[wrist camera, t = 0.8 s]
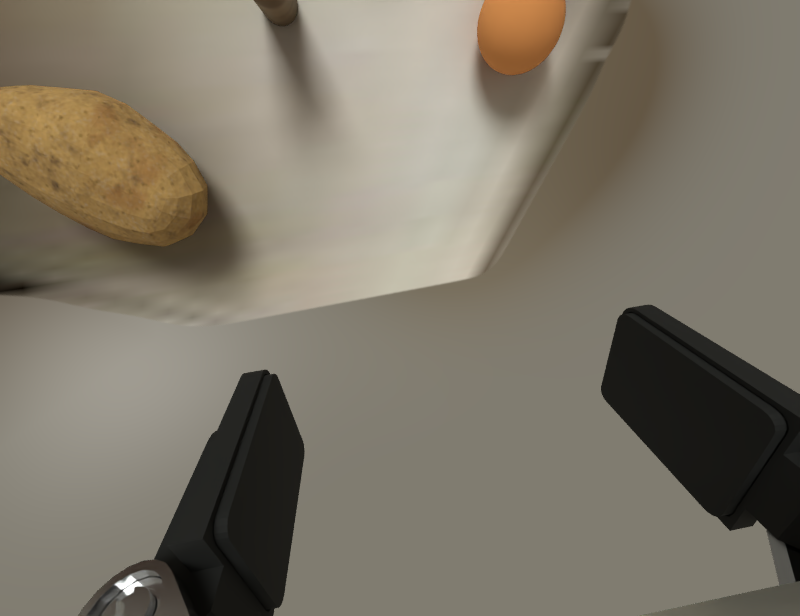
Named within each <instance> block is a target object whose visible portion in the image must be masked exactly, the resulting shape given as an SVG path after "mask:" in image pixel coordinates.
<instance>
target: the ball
mask: <svg viewBox="0 0 800 616" xmlns="http://www.w3.org/2000/svg"><path fill="white" fill-rule="evenodd" d="M565 13H566V4H565V0H485V1H484V4H483V6H482V8H481V12H480V15H479V20H478V27H477V37H478V44H479V49H480V51H481V54H482V56H483V58H484V60H485V61H486V63H487V64H488V65H489V66H490V67H491V68H492V69H494V70H495V71H497V72H499V73H502V74H506V75H517V74H522V73H525V72H527V71H530V70H532V69H533V68H535V67H536V66H538V65H539V64H540V63H541V62H542V61H544V60H545V58H546V57H547V56H548V55H549V54H550V53H551V51H552V50H553V48H554V47H555V45H556V43H557V41H558V39H559V37H560V35H561V32H562V29H563V25H564V21H565Z"/></svg>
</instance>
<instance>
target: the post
mask: <svg viewBox="0 0 800 616" xmlns="http://www.w3.org/2000/svg"><path fill="white" fill-rule="evenodd" d="M254 1H255V3H256V4H257V5H258V6H259V8H260V9H261V10H262V11H263V13H264V14H265V15H266V17H267V18H268V19H269V20H270V21H271V22H273V23H274V24H276V25H279V26H286V25H289V24H290V23H292V22H293V21H294V19H295V17H296V15H297V10H298V4H297V0H254Z"/></svg>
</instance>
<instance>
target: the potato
mask: <svg viewBox="0 0 800 616" xmlns="http://www.w3.org/2000/svg"><path fill="white" fill-rule="evenodd" d="M0 175H2V176H3V177H5V178H6V179H7V180H9V181H10V182H12V183H13V184H15V185H16V186H18V187H19V188H21V189H22V190H24V191H25V192H27V193H28V194H29V195H31V196H32V197H34V198H36V199H37V200H39V201H41V202H42V203H44V204H46V205H47V206H49V207H51V208H52V209H54V210H56V211H57V212H59V213H61V214H63V215H65V216H67V217H68V218H70V219H72V220H74V221H76V222H78V223H80V224H82V225H84V226H85V227H87V228H89V229H92V230H94V231H96V232H99V233H101V234H103V235H106V236H108V237H110V238H113V239H117V240H122V241H128V242H133V243H138V244H146V245H155V246H167V245H171V244H173V243H175V242H178V241H180V240H182V239H184V238H186V237H189V236H191V235H193V233H194V232H195V231H196V229H197V228H198V226H199V225H200V223H201V222H202V221H203V219H204V218H205V216H206V215H207V184H206V182H205V181H204V179H203V177H202V175H201V173H200V171H199V170H198V168H197V166H196V164H195V162H194V161H193V160H192V159H191V158H190V157H189V155H188V154H187V153H186V152H185V151H184V150H183V149H182V147H181V146H180V145H179V144H178V143H177V142H176V141H174V140H173V139H172V138H171V137H169V136H168V135H167V134H165V133H164V132H163V131H162V130H160V129H159V128H158V127H156V126H155V125H154V124H152V123H151V122H150V121H148V120H147V119H146V118H144V117H143V116H142V115H140V114H139V113H138V112H136V111H135V110H134V109H132V108H131V107H130V106H128V105H127V104H125V103H123V102H120V101H118V100H116V99H113V98H111V97H109V96H106V95H104V94H102V93H99V92H97V91H91V90H80V89H69V88H58V87H46V86H34V85H23V86H10V87H0Z"/></svg>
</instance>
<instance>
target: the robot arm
mask: <svg viewBox="0 0 800 616" xmlns="http://www.w3.org/2000/svg"><path fill="white" fill-rule="evenodd" d="M601 392H602V395H603V397H604V399H605V400H606V402H607V403H608V404H609V405H610V406H611V407H612V408H613V409H614V410H615V411H616V413H617V414H618V415H620V417H621V418H622V419H623V420H624V421H625V422H626V423H627V425H628V426H629V427H630V428H631V429H632V430H633V431H634V432H635V433H636V434H637V436H638V437H639V438H640V439H641V440H642V441H643V442H644V443H645V444H646V445H647V447H649V449H650V450H651V451H652V452H653V453H654V454H655V455H656V456H657V457H658V459H659V460H660V461H661V462H662V463H663V464H664V465H665V466H666V467H667V468H668V470H669V471H671V473H672V474H673V475H674V476H675V477H676V478H677V479H678V481H679V482H680V483H681V484H682V485H683V486H684V487H685V488H686V489H687V490H688V491H689V493H690V494H691V495H692V496H693V497H694V498H695V499H696V500H697V501H698V502H699V504H701V506H702V507H703V508H704V509H705V510H706V511H707V512H708V513H710V514H711V515H713V516H716V517H718V518H719V519H720V520H721V522H722V523H723V524H724V525H725V526H726V527H727V528H728V529H729V530H730V531H731V530H735V529H740V528H745V527H750V526H753V525H754V523H755V522H756V521H757V520H758V521H759V522H760V523H761V524H762V525H763V526H764V527H765V528H766V529H767V535H768V539H769V543H770V547H771V552H772V556H773V560H774V564H775V568H776V573H777V577H778V581H779V586H775V587H770V588H765V589H761V590H756V591H751V592H747V593H742V594H738V595H733V596H728V597H723V598H719V599H714V600H709V601H705V602H700V603H695V604H691V605H686V606H682V607H677V608H673V609H668V610H664V611H659V612H654V613H650V614H645V615H640V616H800V394H798V393H797V392H795V391H793V390H792V389H790V388H788V387H787V386H785V385H783V384H782V383H780V382H778V381H777V380H775V379H773V378H772V377H770V376H769V375H767V374H765V373H764V372H762V371H760V370H759V369H757V368H755V367H754V366H752V365H751V364H749V363H747V362H746V361H744V360H742V359H741V358H739V357H737V356H736V355H734V354H732V353H731V352H729V351H727V350H726V349H724V348H722V347H721V346H719V345H718V344H716V343H714V342H713V341H711V340H709V339H708V338H706V337H704V336H703V335H701V334H700V333H698V332H696V331H694V330H693V329H691V328H690V327H688V326H686V325H685V324H683V323H681V322H680V321H678V320H676V319H675V318H673V317H671V316H670V315H668V314H666V313H665V312H663V311H662V310H660V309H658V308H657V307H655V306H653V305H643V306H638V307H632V308H628V309H626V310H625V311H624V312H623V314H622V315H620V316H619V318H618V320H617V324H616V329H615V333H614V337H613V341H612V345H611V349H610V353H609V357H608V361H607V365H606V370H605V373H604V377H603V382H602V386H601ZM303 461H304V444H303V440H302V438H301V435H300V433H299V430H298V427H297V425H296V422H295V420H294V417H293V415H292V412H291V410H290V407H289V405H288V402H287V399H286V397H285V394H284V392H283V389H282V386H281V384H280V381H279V379H278V377H277V375H276V374H271V375H270V373H269V371H268V370H261V371H255V372H249V373H244V374H242V376H241V378H240V380H239V382H238V385H237V387H236V389H235V391H234V394H233V396H232V398H231V401H230V403H229V405H228V407H227V410H226V412H225V414H224V416H223V419H222V421H221V424H220V426H219V428H218V430H217V431H215V432H214V433H213V434H212V435H211V437H210V438H209V440H208V442H207V444H206V446H205V449H204V451H203V453H202V455H201V457H200V459H199V462H198V464H197V466H196V468H195V471H194V473H193V475H192V477H191V479H190V482H189V484H188V486H187V488H186V490H185V493H184V495H183V497H182V499H181V501H180V503H179V506H178V508H177V510H176V512H175V514H174V517H173V519H172V521H171V524H170V525H169V528H168V530H167V532H166V534H165V536H164V539H163V541H162V543H161V545H160V547H159V550H158V552H157V554H156V556H155V558H154V560H145V561H141V562H139V563H136V564H134V565H131V566H129V567H127V568H126V569H124V570H123V571H121V572H120V573H118V574H117V575H115V576H114V577H112V578H111V579H110V580H109V581H108V582H107V583H106V584H104V585H103V586H102V587H101V588H100V589H99V590H98V591H97V592H96V593H95V594H94V595H93V597H92V598H91V599H90V600H89V601H88V603H87V604H86V605H85V606H84V607H83V609H82V610H81V612H80V613H79V615H78V616H273V614H274V608H278V607H280V606H281V604H282V601H283V597H284V592H285V585H286V578H287V571H288V564H289V557H290V550H291V543H292V536H293V530H294V523H295V516H296V509H297V502H298V495H299V488H300V481H301V474H302V467H303Z"/></svg>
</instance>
